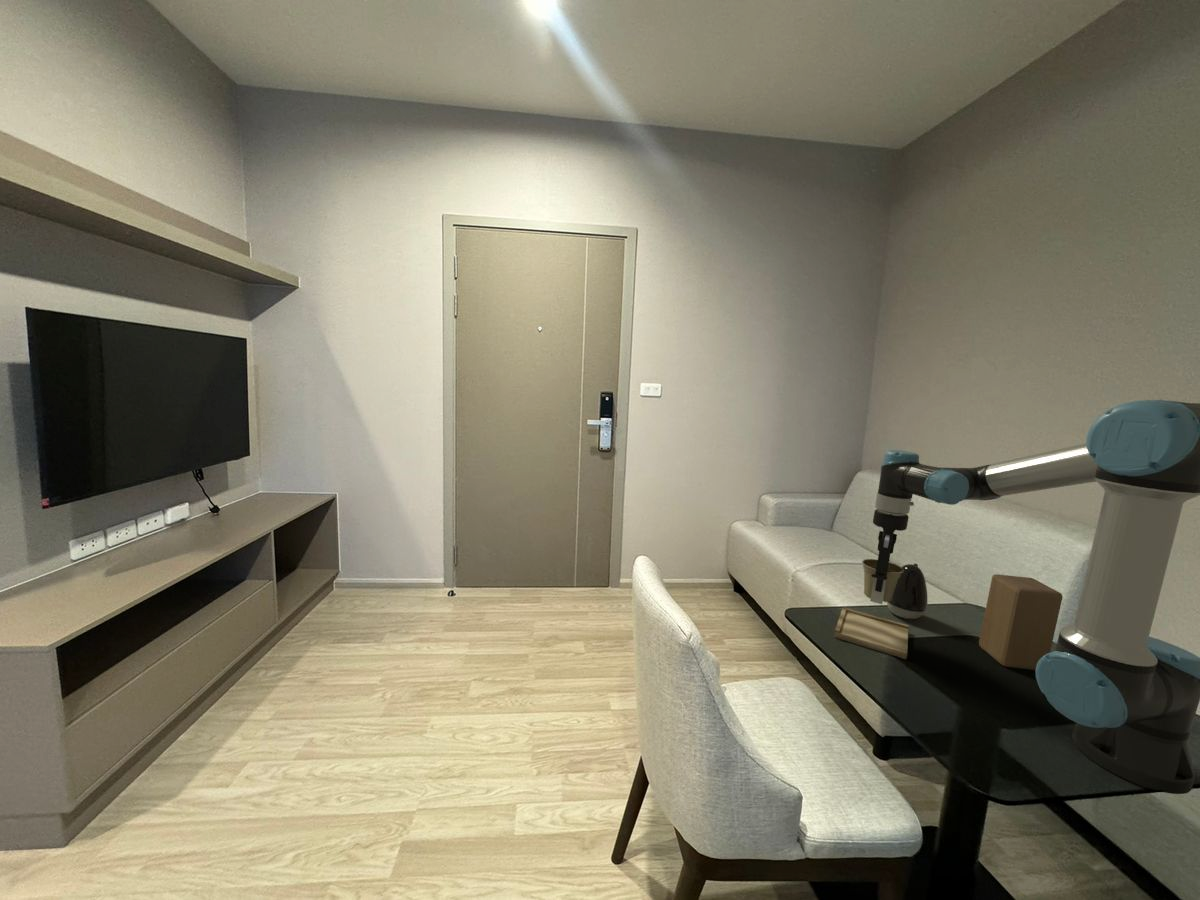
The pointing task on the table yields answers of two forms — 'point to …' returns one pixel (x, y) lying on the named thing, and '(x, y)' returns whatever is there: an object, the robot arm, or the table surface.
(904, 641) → the board
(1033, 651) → the wooden block
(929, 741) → the table surface
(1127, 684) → the robot arm
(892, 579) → the flower pot
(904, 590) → the black egg-shaped piece
